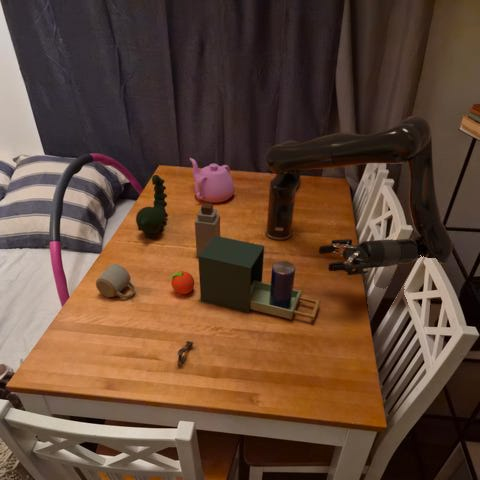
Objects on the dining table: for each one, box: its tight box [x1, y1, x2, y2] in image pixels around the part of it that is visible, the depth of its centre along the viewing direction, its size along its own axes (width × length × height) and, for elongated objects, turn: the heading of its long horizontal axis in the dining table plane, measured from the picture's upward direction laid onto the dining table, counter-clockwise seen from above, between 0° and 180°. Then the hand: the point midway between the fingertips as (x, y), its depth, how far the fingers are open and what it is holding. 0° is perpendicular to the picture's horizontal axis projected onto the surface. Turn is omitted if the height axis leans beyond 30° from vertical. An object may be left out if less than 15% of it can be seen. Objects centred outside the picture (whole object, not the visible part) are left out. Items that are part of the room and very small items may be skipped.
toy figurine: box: [135, 174, 169, 240], centre depth 147 cm, size 9×19×25 cm
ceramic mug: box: [95, 263, 136, 299], centre depth 121 cm, size 11×8×8 cm
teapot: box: [189, 157, 235, 204], centre depth 171 cm, size 22×22×14 cm
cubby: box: [197, 235, 265, 314], centre depth 119 cm, size 15×12×16 cm
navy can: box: [269, 260, 296, 309], centre depth 115 cm, size 6×6×13 cm
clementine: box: [167, 270, 195, 295], centre depth 122 cm, size 8×7×7 cm
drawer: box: [250, 280, 321, 321], centre depth 118 cm, size 21×10×3 cm, turn 70°
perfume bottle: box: [194, 202, 221, 259], centre depth 135 cm, size 7×7×18 cm
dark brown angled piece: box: [176, 340, 194, 367], centre depth 103 cm, size 2×8×4 cm, turn 165°
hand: (324, 258), depth 111 cm, fingers open, 8 cm apart
